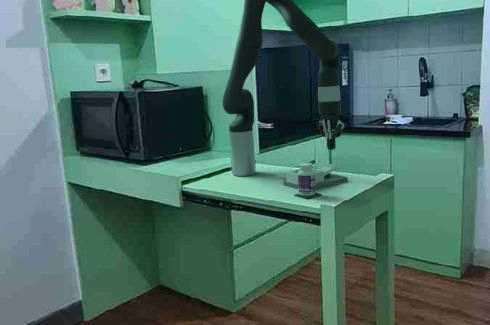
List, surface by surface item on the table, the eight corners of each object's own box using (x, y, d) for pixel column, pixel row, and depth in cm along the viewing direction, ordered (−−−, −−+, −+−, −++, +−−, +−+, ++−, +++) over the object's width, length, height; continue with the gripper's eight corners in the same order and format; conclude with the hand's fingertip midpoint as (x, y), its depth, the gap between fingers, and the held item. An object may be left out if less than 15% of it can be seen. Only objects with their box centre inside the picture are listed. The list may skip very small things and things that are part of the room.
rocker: (313, 175, 157) (313, 171, 157) (330, 167, 161) (329, 163, 160) (321, 177, 154) (321, 173, 153) (338, 168, 157) (337, 164, 157)
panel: (283, 185, 156) (282, 171, 155) (321, 175, 165) (321, 162, 164) (308, 191, 145) (307, 176, 144) (347, 181, 154) (347, 167, 153)
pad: (294, 195, 141) (294, 194, 141) (309, 191, 145) (309, 190, 144) (307, 199, 136) (307, 198, 136) (321, 195, 140) (321, 194, 139)
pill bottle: (315, 196, 138) (314, 165, 136) (298, 196, 139) (296, 166, 137) (316, 191, 143) (315, 162, 141) (299, 192, 144) (298, 162, 142)
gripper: (308, 100, 157) (310, 149, 161) (334, 100, 146) (337, 152, 150) (324, 98, 161) (326, 146, 165) (351, 98, 150) (353, 149, 154)
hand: (331, 149), depth 157 cm, fingers closed
